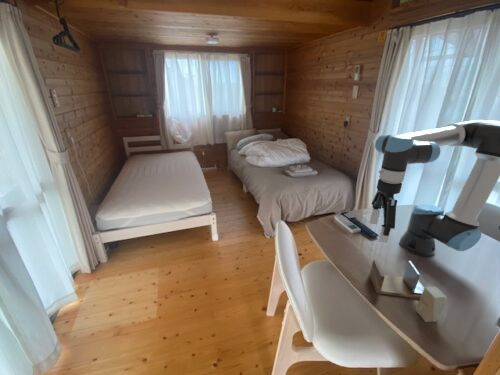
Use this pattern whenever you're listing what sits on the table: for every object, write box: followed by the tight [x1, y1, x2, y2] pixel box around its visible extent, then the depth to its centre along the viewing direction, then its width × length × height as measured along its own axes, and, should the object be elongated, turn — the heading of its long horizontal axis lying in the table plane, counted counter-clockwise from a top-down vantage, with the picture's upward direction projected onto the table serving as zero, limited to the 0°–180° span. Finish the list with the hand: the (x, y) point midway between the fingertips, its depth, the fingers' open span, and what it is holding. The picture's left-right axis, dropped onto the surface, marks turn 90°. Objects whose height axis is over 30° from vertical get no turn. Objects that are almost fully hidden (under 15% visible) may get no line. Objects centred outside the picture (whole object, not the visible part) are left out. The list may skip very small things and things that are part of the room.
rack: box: [369, 259, 422, 300], centre depth 96 cm, size 16×10×8 cm, turn 80°
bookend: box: [402, 260, 425, 295], centre depth 94 cm, size 6×8×9 cm
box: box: [415, 286, 448, 323], centre depth 83 cm, size 5×4×11 cm
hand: (377, 232), depth 93 cm, fingers open, 13 cm apart
